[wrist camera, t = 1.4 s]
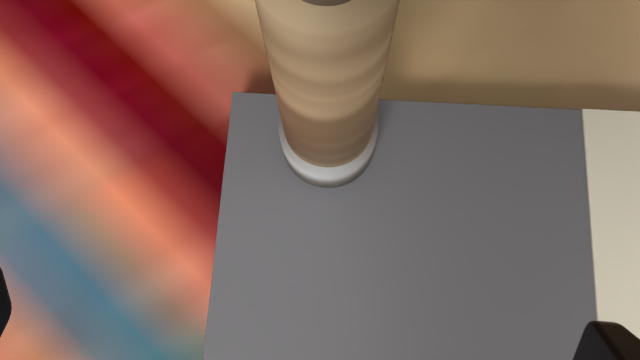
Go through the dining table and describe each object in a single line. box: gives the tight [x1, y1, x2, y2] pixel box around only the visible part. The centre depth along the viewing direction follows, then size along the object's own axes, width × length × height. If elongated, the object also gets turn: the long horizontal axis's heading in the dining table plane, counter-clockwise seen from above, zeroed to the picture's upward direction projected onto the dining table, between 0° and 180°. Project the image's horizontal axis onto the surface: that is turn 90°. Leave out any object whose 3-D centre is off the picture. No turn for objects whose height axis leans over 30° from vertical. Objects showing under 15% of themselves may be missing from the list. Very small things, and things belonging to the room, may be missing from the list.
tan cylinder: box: [255, 0, 399, 188], centre depth 16 cm, size 4×4×12 cm
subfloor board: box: [203, 92, 640, 360], centre depth 21 cm, size 17×20×1 cm
